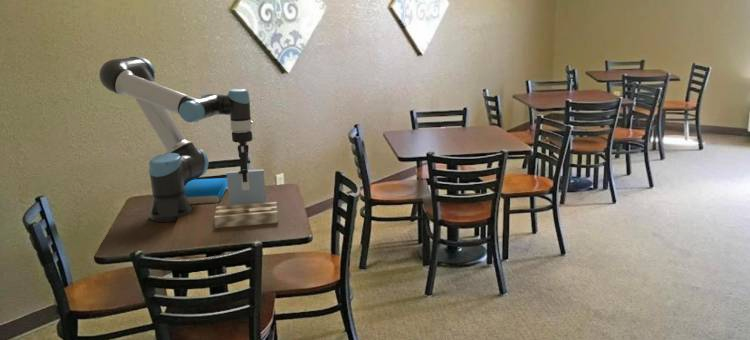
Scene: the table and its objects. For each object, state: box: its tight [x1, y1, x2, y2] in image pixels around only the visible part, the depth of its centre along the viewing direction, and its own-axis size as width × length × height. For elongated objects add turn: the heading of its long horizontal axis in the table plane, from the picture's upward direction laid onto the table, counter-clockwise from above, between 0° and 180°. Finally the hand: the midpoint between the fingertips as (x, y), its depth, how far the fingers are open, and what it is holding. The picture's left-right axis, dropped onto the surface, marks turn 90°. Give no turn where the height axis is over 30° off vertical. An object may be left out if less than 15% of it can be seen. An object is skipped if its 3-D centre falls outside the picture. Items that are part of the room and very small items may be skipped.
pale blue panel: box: [225, 168, 267, 206], centre depth 233 cm, size 14×2×16 cm, turn 100°
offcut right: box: [249, 207, 272, 213], centre depth 218 cm, size 8×2×4 cm, turn 101°
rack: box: [213, 201, 279, 229], centre depth 220 cm, size 22×12×6 cm, turn 101°
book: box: [184, 177, 228, 205], centre depth 257 cm, size 17×4×25 cm
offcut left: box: [217, 208, 244, 216], centre depth 216 cm, size 9×2×5 cm, turn 100°
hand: (246, 184), depth 232 cm, fingers open, 13 cm apart
